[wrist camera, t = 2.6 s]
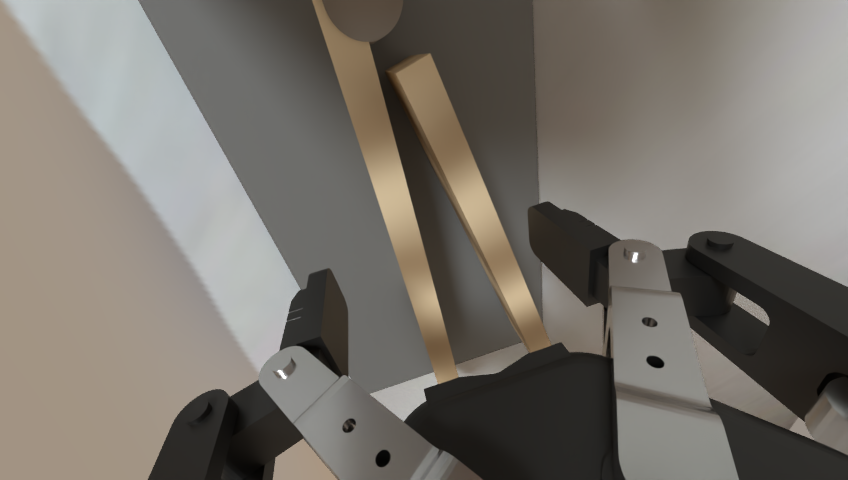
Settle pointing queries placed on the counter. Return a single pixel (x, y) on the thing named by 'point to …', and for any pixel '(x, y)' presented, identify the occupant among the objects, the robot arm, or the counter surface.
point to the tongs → (384, 154)
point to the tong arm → (465, 189)
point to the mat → (345, 166)
